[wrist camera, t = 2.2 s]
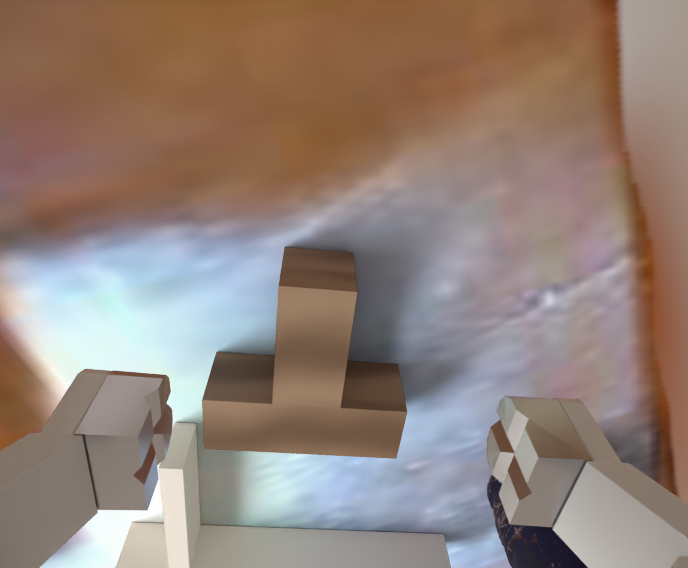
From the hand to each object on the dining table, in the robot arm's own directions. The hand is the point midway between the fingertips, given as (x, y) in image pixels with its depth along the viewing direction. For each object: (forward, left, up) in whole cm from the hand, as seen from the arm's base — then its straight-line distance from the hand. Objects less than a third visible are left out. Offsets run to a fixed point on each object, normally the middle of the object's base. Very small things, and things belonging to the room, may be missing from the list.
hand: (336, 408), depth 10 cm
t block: (+12, 0, -19) cm, 23 cm away
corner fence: (+27, 0, -19) cm, 33 cm away
